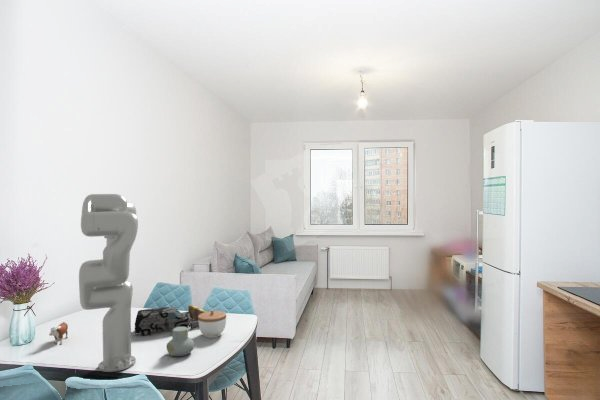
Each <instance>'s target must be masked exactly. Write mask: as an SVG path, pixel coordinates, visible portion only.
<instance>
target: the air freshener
mask: <svg viewBox="0 0 600 400" xmlns="http://www.w3.org/2000/svg"><path fill="white" fill-rule="evenodd" d="M171 331H172V335H171V336H172V339H170V340H169V341H168V342H167V344H166V350H167V353H168V354H169V355H170V356H173V357H183V356H186V355H188V354H190V353H191V352H192V351H193V350H194V348H195V343H194V341H193V339H192V338H191V337H189V334H188V333H189V327H188V328H187V327H176V328H174V329H173V330H171Z"/></svg>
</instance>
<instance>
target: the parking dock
mask: <svg viewBox="0 0 600 400" xmlns="http://www.w3.org/2000/svg"><path fill="white" fill-rule="evenodd" d="M184 312H185V311H183V312H182V313H184ZM187 312H188V313H189V314H190V319H191V318H192V319H191V320H193V319H194V320H193V321H190V323H191V326H190V329H191V330H195V329H199V324H198V315H199V314H201V313H204V312H207V311H206V310H204V309H202V308H200V307H198V306H195V305H193V304H189V305H188V311H187Z"/></svg>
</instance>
